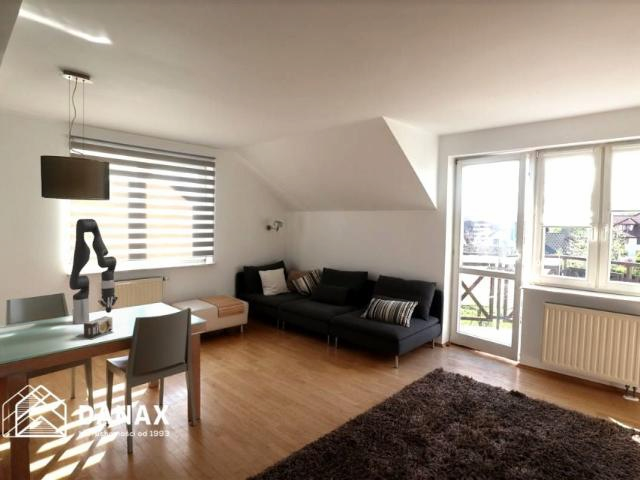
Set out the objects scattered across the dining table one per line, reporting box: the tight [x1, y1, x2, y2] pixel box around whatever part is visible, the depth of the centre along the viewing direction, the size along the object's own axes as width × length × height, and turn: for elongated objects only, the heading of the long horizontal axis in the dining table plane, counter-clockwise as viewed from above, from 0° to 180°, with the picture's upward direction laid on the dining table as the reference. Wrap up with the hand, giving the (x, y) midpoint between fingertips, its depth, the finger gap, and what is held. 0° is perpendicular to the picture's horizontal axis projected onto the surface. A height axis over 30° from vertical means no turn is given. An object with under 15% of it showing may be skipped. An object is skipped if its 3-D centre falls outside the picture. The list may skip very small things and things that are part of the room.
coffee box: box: [83, 316, 113, 338], centre depth 227 cm, size 9×6×16 cm
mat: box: [76, 330, 115, 341], centre depth 227 cm, size 14×15×1 cm
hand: (108, 312), depth 235 cm, fingers closed
